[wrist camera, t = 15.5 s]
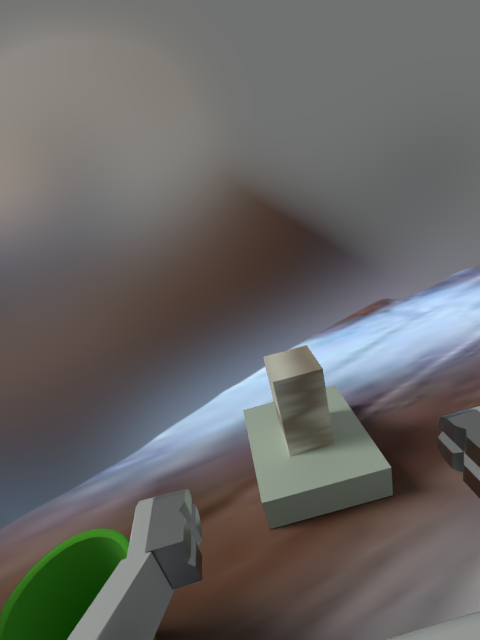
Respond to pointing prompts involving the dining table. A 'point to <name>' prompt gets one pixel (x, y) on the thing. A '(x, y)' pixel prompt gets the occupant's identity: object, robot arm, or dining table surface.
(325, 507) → the base plinth
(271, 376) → the cream block
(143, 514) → the robot arm
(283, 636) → the dining table surface
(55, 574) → the cup
